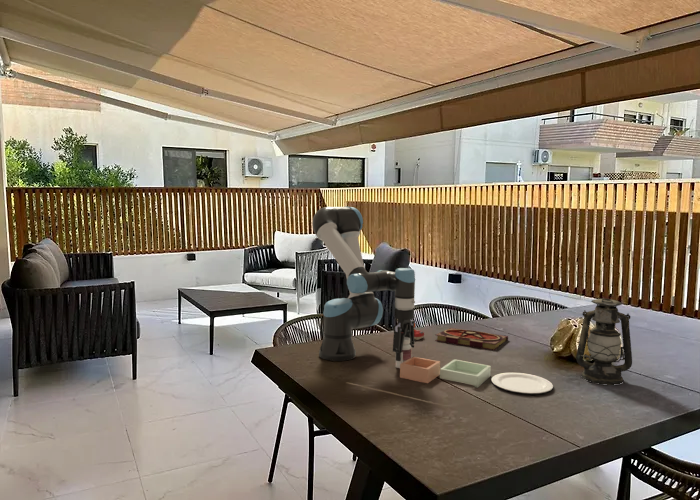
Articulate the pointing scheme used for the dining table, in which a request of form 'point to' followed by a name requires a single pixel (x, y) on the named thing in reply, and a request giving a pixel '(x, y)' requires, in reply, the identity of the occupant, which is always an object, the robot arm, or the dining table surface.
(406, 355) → the pill bottle
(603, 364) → the lantern
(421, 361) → the orange open box
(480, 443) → the dining table surface
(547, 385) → the plate
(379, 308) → the robot arm
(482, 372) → the green tray
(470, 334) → the book
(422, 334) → the toy boat
